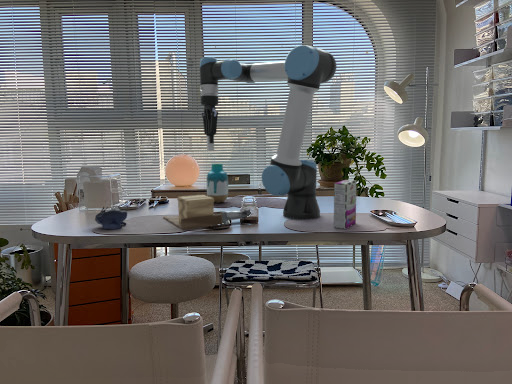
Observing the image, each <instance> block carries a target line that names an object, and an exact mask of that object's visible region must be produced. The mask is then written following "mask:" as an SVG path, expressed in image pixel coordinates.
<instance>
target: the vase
mask: <svg viewBox="0 0 512 384" xmlns="http://www.w3.org/2000/svg"><path fill="white" fill-rule="evenodd" d="M223 165H224V164H223V163H212V164H211V170H210V171H209V172H208V173H207V175H206V194H207V195H206V196H209V197H211V198H213V199H214V202H213V203H216V204H217V203H218V204H219V203H222V202H225V201H227V199H228V196H229V178H228V177H229V176H228V173H227V172H226V171H225V170H224V166H223Z"/></svg>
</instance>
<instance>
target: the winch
mask: <svg viewBox="0 0 512 384" xmlns="http://www.w3.org/2000/svg"><path fill="white" fill-rule="evenodd" d="M250 210H251V209H250V208H244V209H241V210H240V209H239V210H233V211H224V210H223V211H219V214H221V219H222V223H227V221H233V220H234V221H235V220H244V218H246V217H247V216H249V215H250V214H251V215H252V213H251V212H250ZM251 215H250V216H251ZM227 224H228V223H227Z"/></svg>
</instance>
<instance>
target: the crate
mask: <svg viewBox="0 0 512 384" xmlns="http://www.w3.org/2000/svg"><path fill="white" fill-rule="evenodd" d="M214 203H215V202H214V199H213V198H211V197H209V196H208V195H205V194H195V195H194V194H193V195H183V196H182V195H181V196H177V204H178V206H177V207H178V216H179V223H180V224H181V218H190V217H199V216H208V215H215V212H214V211H215V210H214V209H215V208H214V206H215V205H214Z"/></svg>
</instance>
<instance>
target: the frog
mask: <svg viewBox="0 0 512 384" xmlns="http://www.w3.org/2000/svg"><path fill="white" fill-rule="evenodd" d="M108 208H109V207H108V206H107V207H106V208H105V207H104V206H103V207H102V209H101V211H100V212H98V213H97V214H96V215H95V219H94V221H95V222H96V223H97V225H101V227H102V228H103V229H107V230H115V229H116V230H117V229H118V230H120V229H122V228H123V226H124V225H125V226H127V223H126V222H125V221H126V219H127V218H128V212H127V211H126V210H122V209H118V208H113V209H109V210H107V209H108ZM122 225H123V226H122Z"/></svg>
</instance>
